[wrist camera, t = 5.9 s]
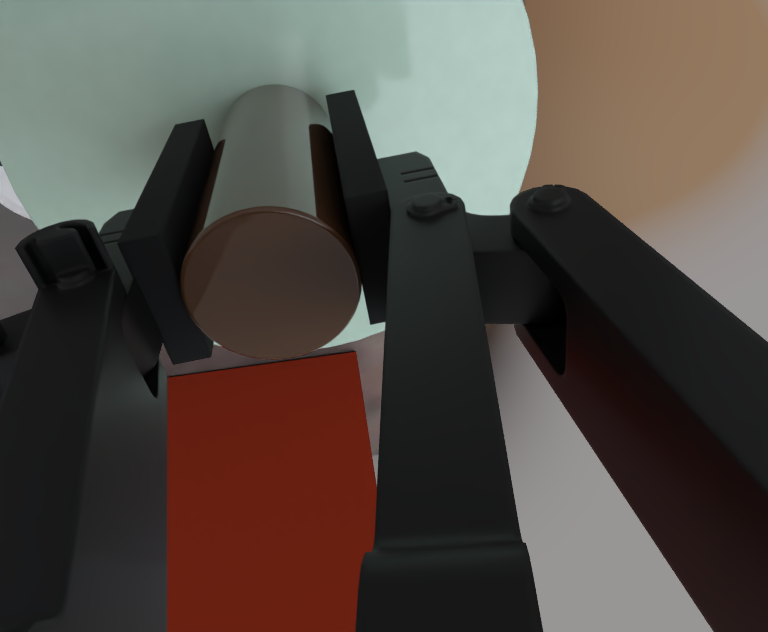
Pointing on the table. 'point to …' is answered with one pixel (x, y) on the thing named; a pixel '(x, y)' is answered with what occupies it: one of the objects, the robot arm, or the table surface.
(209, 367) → the table surface
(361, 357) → the table surface
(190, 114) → the basin lid
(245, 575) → the file binder
